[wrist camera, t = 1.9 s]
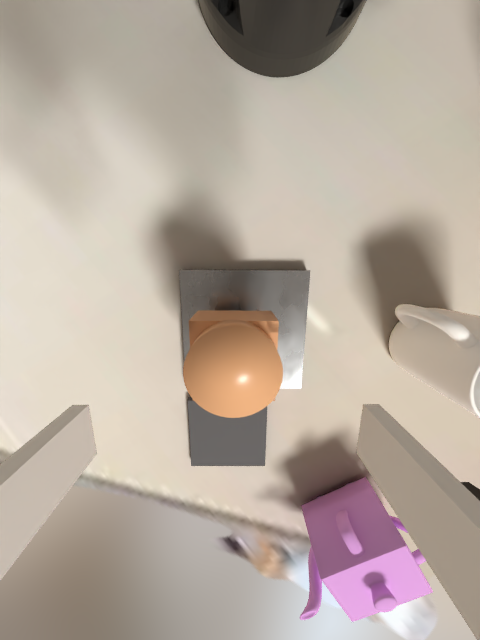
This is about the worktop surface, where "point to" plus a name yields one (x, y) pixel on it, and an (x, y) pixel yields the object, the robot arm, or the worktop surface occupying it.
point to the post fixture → (254, 306)
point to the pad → (226, 438)
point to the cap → (233, 361)
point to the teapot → (359, 554)
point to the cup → (440, 351)
